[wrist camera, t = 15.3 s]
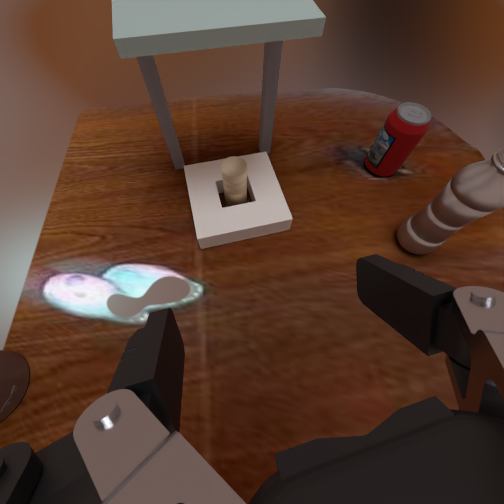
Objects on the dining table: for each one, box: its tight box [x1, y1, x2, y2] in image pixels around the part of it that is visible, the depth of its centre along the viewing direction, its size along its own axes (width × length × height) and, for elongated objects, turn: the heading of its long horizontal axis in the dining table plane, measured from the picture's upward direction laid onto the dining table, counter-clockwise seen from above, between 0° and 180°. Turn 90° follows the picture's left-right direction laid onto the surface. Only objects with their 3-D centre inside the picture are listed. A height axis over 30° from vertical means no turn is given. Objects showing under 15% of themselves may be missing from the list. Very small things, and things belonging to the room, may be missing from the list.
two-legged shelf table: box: [112, 0, 326, 170], centre depth 38 cm, size 14×20×26 cm
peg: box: [221, 156, 247, 207], centre depth 42 cm, size 4×4×10 cm
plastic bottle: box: [397, 147, 504, 255], centre depth 35 cm, size 6×7×20 cm
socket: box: [184, 152, 293, 249], centre depth 45 cm, size 16×16×4 cm
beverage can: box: [365, 102, 431, 176], centre depth 46 cm, size 7×7×12 cm
